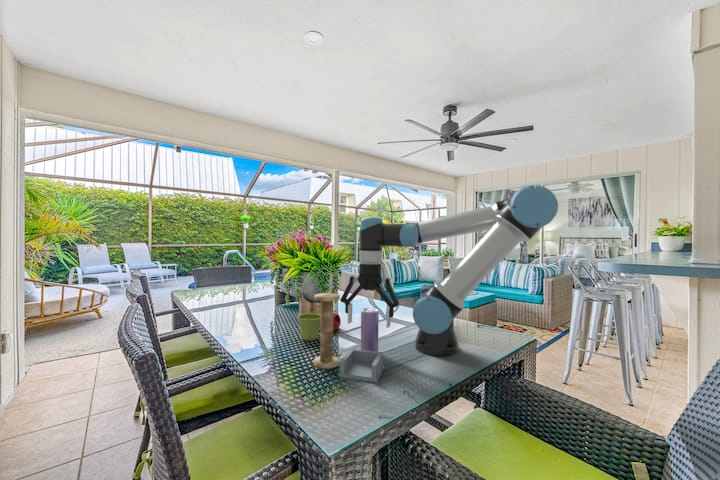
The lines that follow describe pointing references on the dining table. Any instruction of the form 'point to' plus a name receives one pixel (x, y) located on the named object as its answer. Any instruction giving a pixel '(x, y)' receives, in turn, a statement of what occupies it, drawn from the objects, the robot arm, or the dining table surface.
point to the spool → (326, 331)
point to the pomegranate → (336, 321)
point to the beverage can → (369, 329)
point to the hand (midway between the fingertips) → (368, 324)
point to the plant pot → (309, 326)
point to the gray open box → (362, 365)
